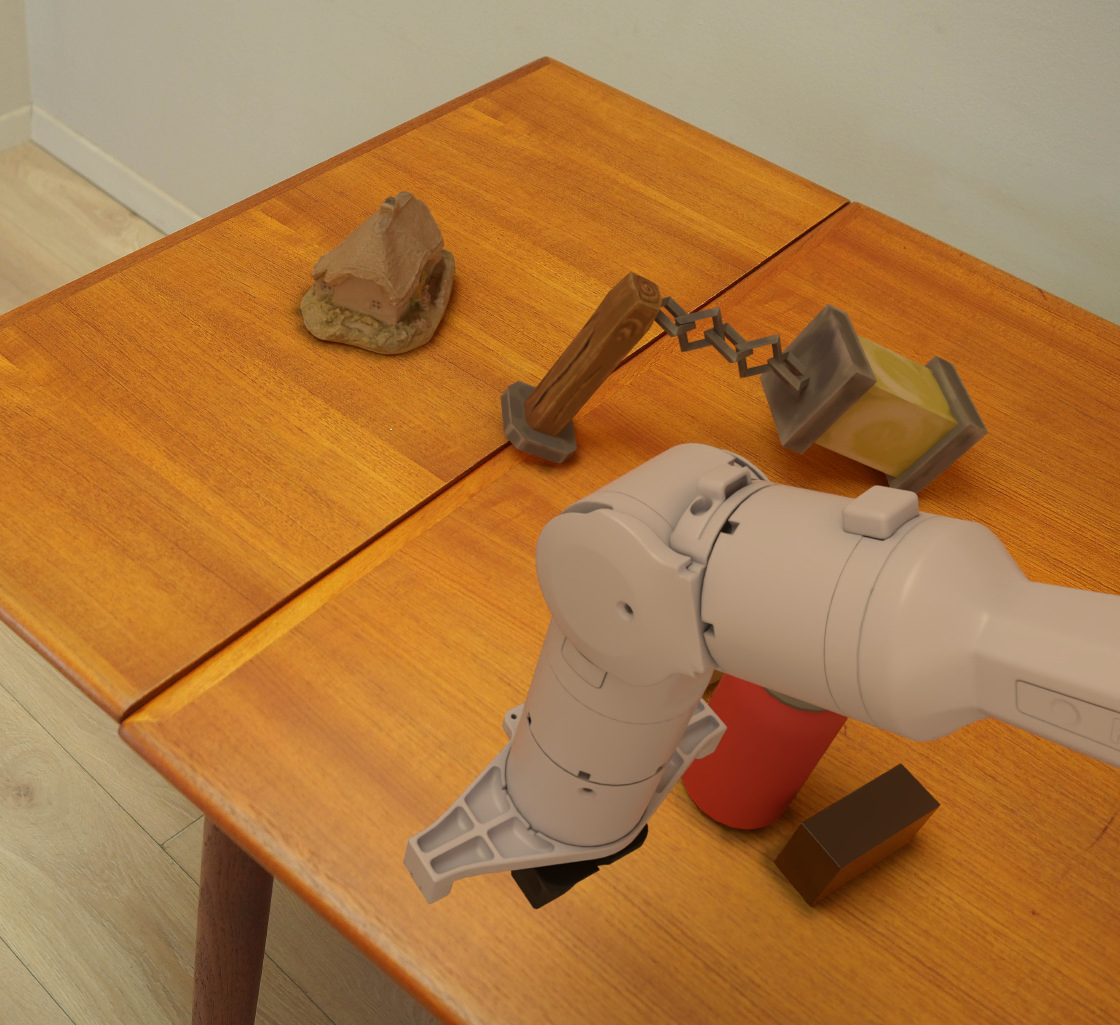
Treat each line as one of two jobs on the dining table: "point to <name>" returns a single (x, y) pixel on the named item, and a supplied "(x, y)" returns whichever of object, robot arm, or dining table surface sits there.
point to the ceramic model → (383, 281)
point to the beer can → (758, 753)
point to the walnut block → (855, 833)
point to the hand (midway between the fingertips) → (534, 884)
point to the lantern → (769, 388)
